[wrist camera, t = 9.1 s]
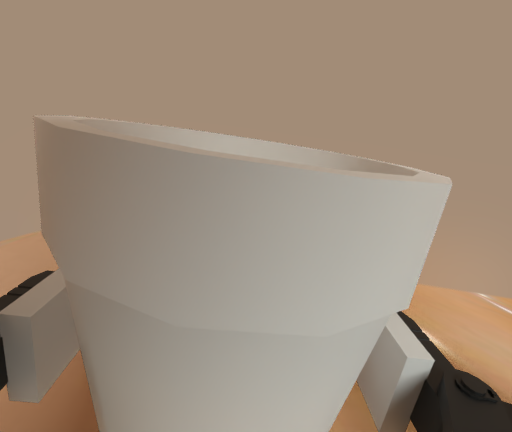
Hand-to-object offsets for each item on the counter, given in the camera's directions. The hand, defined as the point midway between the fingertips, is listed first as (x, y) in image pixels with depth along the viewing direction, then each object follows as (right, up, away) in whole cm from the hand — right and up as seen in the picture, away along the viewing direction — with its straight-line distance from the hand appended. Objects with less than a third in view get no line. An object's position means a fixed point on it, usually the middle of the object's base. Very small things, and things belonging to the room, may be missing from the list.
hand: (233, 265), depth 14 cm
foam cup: (-1, -8, -2) cm, 8 cm away
